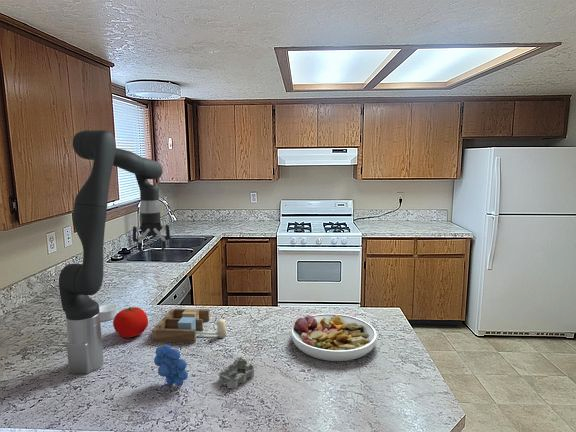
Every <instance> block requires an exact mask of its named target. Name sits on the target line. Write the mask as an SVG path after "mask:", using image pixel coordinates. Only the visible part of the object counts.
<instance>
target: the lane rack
mask: <svg viewBox="0 0 576 432" xmlns="http://www.w3.org/2000/svg"><path fill="white" fill-rule="evenodd" d="M185 309H186V308H171V309H170V310H169V311H168V312H166V314H165V315H164V317H162V318H161V320H160V321H158V323H157V324H156V325H155V326H154V327H153V328H152V329H151V338H152V339H151V341H152V343H177V344H179V343H181V344H183V343H184V344H185V343H186V344H195V343H196V342H197V334H196V331H197V332H204V322H209V321H210V309H207V308H202V309H201V308H198V309H199V319H195V320H196V329H178V322H179V321H180V319H181V318H182V313H183V312H184V311H185Z"/></svg>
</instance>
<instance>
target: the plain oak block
mask: <svg viewBox="0 0 576 432" xmlns="http://www.w3.org/2000/svg"><path fill="white" fill-rule="evenodd" d="M184 309H185V311H184V312H183V313H182V317H195V319H199V309H200V308H184Z"/></svg>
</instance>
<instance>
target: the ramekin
mask: <svg viewBox="0 0 576 432" xmlns="http://www.w3.org/2000/svg"><path fill="white" fill-rule="evenodd" d="M118 307H119V306H118V304H114V303H113V304H112V303H111V304H110V303H108V304H102V305H99V312H100V322H107V321H109V322H110V321H113V320H114V318H115V316H116V314H117V313H118Z"/></svg>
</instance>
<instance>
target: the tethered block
mask: <svg viewBox="0 0 576 432" xmlns="http://www.w3.org/2000/svg"><path fill="white" fill-rule="evenodd" d="M226 321H227V320H226V319H224V318H220V319H217V323H216V325H217V331H196V335H203V336H204V335H209V336H210V335H211V336H212V335H213V336H217V338H218V339H224V338H226V337H227V330H226V329H227V328H226V326H227V325H226ZM178 329H196V320H195V317H182V318H181V319H180V321H179V322H178Z"/></svg>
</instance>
